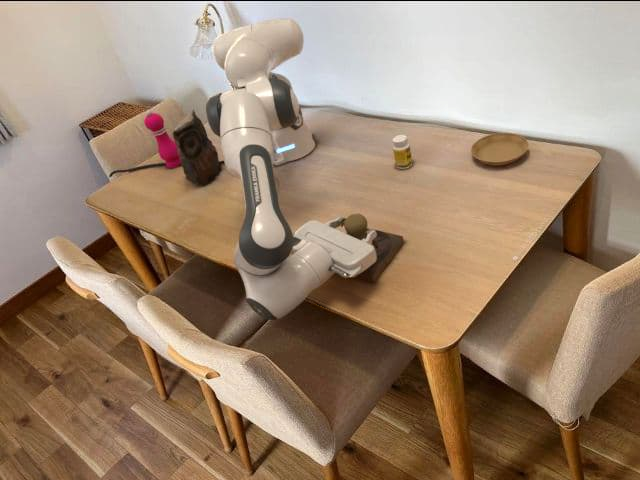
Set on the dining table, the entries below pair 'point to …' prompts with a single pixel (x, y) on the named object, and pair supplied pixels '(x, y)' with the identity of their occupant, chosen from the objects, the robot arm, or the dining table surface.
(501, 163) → the plant saucer
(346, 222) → the pepper shaker
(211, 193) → the dining table surface
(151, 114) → the pepper mill
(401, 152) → the supplement bottle
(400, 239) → the holder
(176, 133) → the owl
